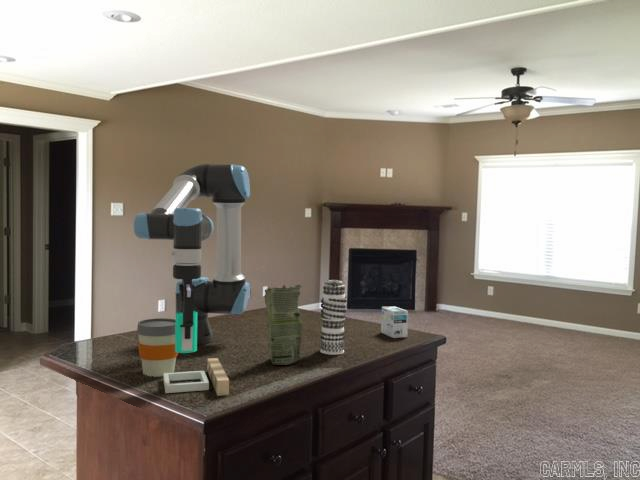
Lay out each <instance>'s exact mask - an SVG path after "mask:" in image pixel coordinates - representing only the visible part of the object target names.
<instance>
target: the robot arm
mask: <svg viewBox="0 0 640 480" xmlns="http://www.w3.org/2000/svg"><path fill="white" fill-rule="evenodd" d="M250 184H251V183H250V177H249V173H248V171H247V169H246V168H245V167H244V166H243V165H241V164H240V165H239V164H233V163H232V164H216V163H215V164H209V163H208V164H198V165H194V166H191V167H190V168H187V169H186V170H184V171H183V172H181V173H179V174H178V176H176V177H175V178H174V180H173V182H172V187H171V188H170V189H169V190H168V191H167V192H166V193H165V195H164V196H163V197H162V199H161V200H160V201H159V202H158V203H157V204H156V205H155V207H154V208H153V209H152V210H151V211H150V212H149V213H147V212H141V213H137V214H136V215H135V218H134V219H133V231H134V235H135V236H136V237H137V238H138V239H142V240H143V239H144V240H166V241H167V240H168V241H169V240H170V241H173V242H172V243H173V244H172V245H173V246H172V247H173V251H171V253H170V255H171V256H173V257H172V258H173V259H172V261H173V263H174V264H173V266H172V278H174V279H176V280H178V281H177V282H176V286H175V314H176V313H177V312H183V324H182V325H180V327H182V351H187V350H192V326H193V324H194V323H193V311H195V312H198V313H197V346H198V345H205V344H208V343H211V342H212V341H213V331H212V329H211V325H210V322H209V314H219V315H221V314H222V315H223V314H224V315H230V316H232V315H241V314H243V313H244V312H245V311H246V309H247V307H248V303H249V297H250V291H251V290H250V289H251V287H250V286H251V284H250V283H249V282H247V281H246V277H245V275H244V274H243V273H242V269H241V268H242V253H241V252H242V243H241V242H242V207H243V206H244V205H245V204H246V199H249V198H250V197H251V185H250ZM197 198H212V199H211V200H212V202H211V203H212V204H213V205H214V206H215V207H216V273H215V275H214V276H213V277H212V281H210V279H209V277H208V276H202V265H201V263H202V241H205V240H207V239H209V238H210V237H211V236H212V235H213V233H214V230H215V225H214V223H213V220H212V219H211V218H210V217H209V216H207V215H205V214H203V212H202V211H203V210H201V209H200V207H199V208H198V207H197V208H193V207H188V205H189V204H190V203H191V201H194V200H195V199H197Z"/></svg>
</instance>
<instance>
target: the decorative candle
mask: <svg viewBox="0 0 640 480" xmlns="http://www.w3.org/2000/svg"><path fill="white" fill-rule="evenodd" d="M322 286H323V290H322V292H323V293H322V298H321V299H320V307H321V308H322V309H321V310H320V313H321V314H320V318H321V319H322V326H321V331H320V341H319V343H320V344H319V345H320V346H319V348H320V353H322V354H324V355H330V356H331V355H332V356H334V355H335V356H336V355H342V354H343V355H344V353H345V350H344V349H345V348H346V347H345V344H346V342H345V339H346V337H345V334H346V332H345V326H344V325H345V322H344V321H345V320H346V315H345V313H347V310H346V308H347V305H345V304H346V303H347V302H348V300H347V296H346V292H345V291H346V290H345V287H346V284H344V282H343V280H338V279H328V280H325V282H324V283H323V284H322Z"/></svg>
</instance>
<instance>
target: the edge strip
mask: <svg viewBox="0 0 640 480" xmlns="http://www.w3.org/2000/svg"><path fill="white" fill-rule="evenodd" d="M206 366H207V371H206V372H207V374H208V377H209V379H210V381H211V383H212V386H213V388H214V391H215V393H216V395H217V397H219V396H229V395H230V379H229V377H228V375H227V373H226V371H225V369H224V368H223V365H222V364H221V362H220V360H219V358H218V357H215V358H214V357H213V358H212V357H211V358H207V365H206Z"/></svg>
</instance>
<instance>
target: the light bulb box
mask: <svg viewBox="0 0 640 480" xmlns="http://www.w3.org/2000/svg"><path fill="white" fill-rule="evenodd" d="M380 321H381V322H380V323H381V326H380V327H381V328H380V333H382V334H384V335H386V336H387V337H389V338H393V339H398V338H408V334H409V333H408V327H409V324H408V323H409V310H407V309H403V308H400V307H398V306H395V305H393V306H381V320H380Z"/></svg>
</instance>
